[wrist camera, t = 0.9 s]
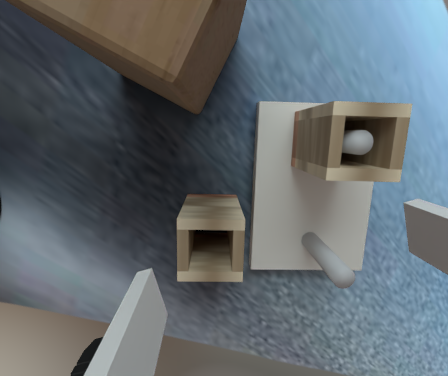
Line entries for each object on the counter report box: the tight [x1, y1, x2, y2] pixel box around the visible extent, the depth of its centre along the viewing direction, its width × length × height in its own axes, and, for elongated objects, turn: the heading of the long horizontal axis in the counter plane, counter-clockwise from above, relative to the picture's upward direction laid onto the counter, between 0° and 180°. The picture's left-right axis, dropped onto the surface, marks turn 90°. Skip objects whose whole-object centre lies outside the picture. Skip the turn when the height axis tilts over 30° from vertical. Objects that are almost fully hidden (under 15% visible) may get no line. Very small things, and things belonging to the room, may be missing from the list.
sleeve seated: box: [291, 101, 412, 182], centre depth 26 cm, size 6×6×10 cm
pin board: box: [249, 101, 374, 288], centre depth 28 cm, size 14×20×11 cm
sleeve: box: [177, 194, 245, 282], centre depth 29 cm, size 6×6×10 cm
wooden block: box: [6, 0, 247, 114], centre depth 20 cm, size 10×10×20 cm
